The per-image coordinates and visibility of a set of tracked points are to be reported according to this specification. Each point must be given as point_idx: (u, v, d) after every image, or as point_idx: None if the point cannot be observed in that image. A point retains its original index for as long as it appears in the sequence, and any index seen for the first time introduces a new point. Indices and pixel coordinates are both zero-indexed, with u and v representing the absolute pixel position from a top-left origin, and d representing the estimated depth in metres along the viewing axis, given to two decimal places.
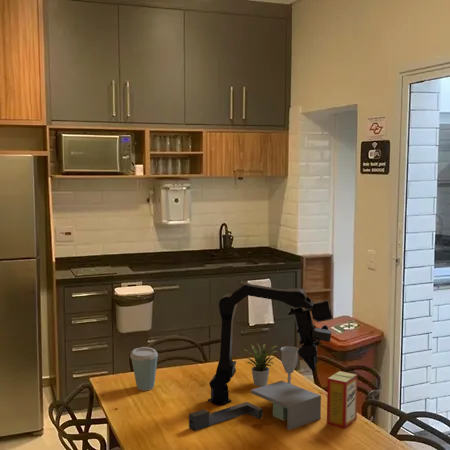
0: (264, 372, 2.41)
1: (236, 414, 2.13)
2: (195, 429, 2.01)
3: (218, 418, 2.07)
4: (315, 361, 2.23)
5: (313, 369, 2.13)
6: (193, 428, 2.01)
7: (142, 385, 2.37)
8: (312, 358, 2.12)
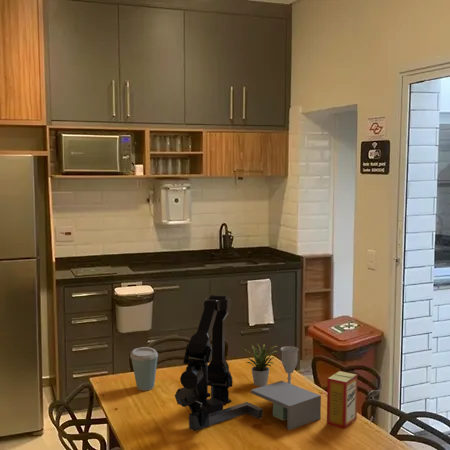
0: (264, 372, 2.41)
1: (236, 414, 2.13)
2: (195, 429, 2.01)
3: (218, 418, 2.07)
4: None
5: None
6: (193, 428, 2.01)
7: (142, 385, 2.37)
8: None
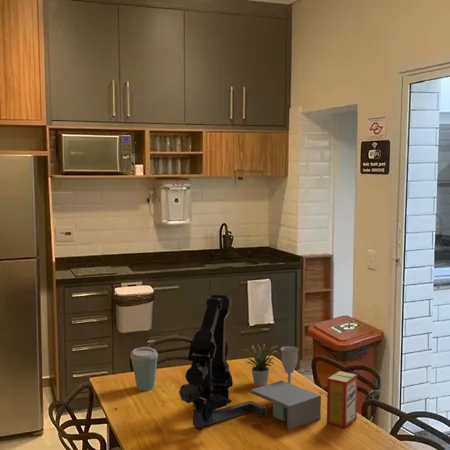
0: (264, 372, 2.41)
1: (240, 412, 2.14)
2: (199, 426, 2.02)
3: (221, 416, 2.08)
4: None
5: None
6: (197, 424, 2.02)
7: (142, 385, 2.37)
8: None
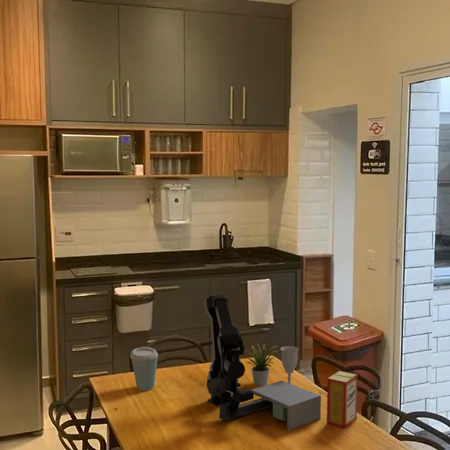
0: (264, 372, 2.41)
1: (263, 406, 2.19)
2: (226, 419, 2.07)
3: (246, 409, 2.14)
4: None
5: None
6: (224, 418, 2.08)
7: (142, 385, 2.37)
8: None
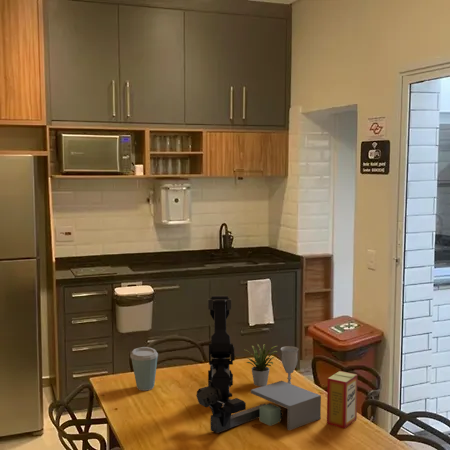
0: (264, 372, 2.41)
1: (255, 416, 2.11)
2: (217, 431, 1.98)
3: (238, 420, 2.05)
4: None
5: None
6: (215, 430, 1.98)
7: (142, 385, 2.37)
8: None
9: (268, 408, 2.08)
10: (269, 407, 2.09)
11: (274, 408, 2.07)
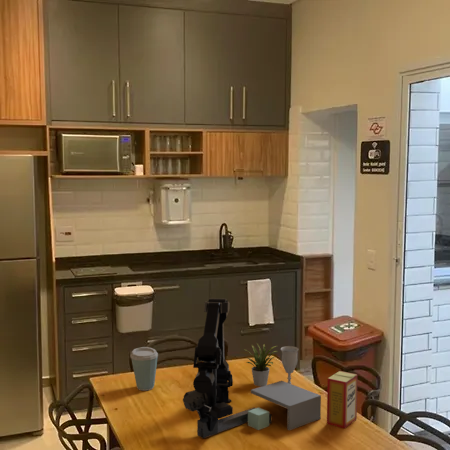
0: (264, 372, 2.41)
1: (244, 420, 2.07)
2: (204, 436, 1.95)
3: (226, 425, 2.02)
4: None
5: None
6: (202, 435, 1.95)
7: (142, 385, 2.37)
8: None
9: (256, 412, 2.04)
10: (258, 411, 2.05)
11: (262, 412, 2.04)
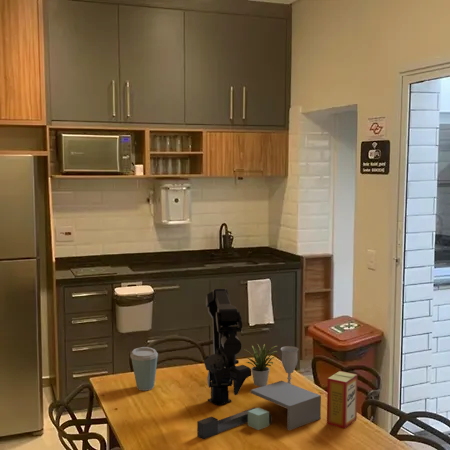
0: (264, 372, 2.41)
1: (244, 421, 2.07)
2: (204, 437, 1.95)
3: (226, 426, 2.02)
4: None
5: None
6: (202, 436, 1.95)
7: (142, 385, 2.37)
8: None
9: (256, 412, 2.04)
10: (258, 411, 2.05)
11: (262, 412, 2.04)
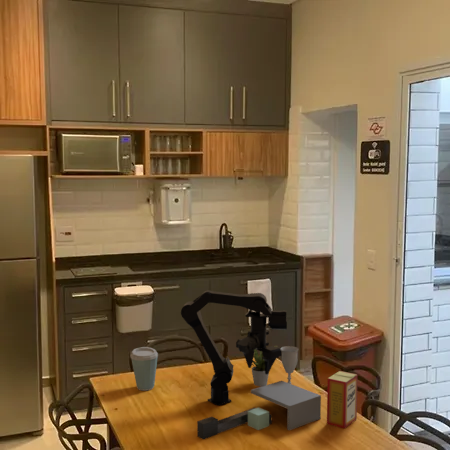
0: (264, 372, 2.41)
1: (244, 421, 2.07)
2: (204, 437, 1.95)
3: (226, 426, 2.02)
4: None
5: None
6: (202, 436, 1.95)
7: (142, 385, 2.37)
8: None
9: (256, 412, 2.04)
10: (258, 411, 2.05)
11: (262, 412, 2.04)
